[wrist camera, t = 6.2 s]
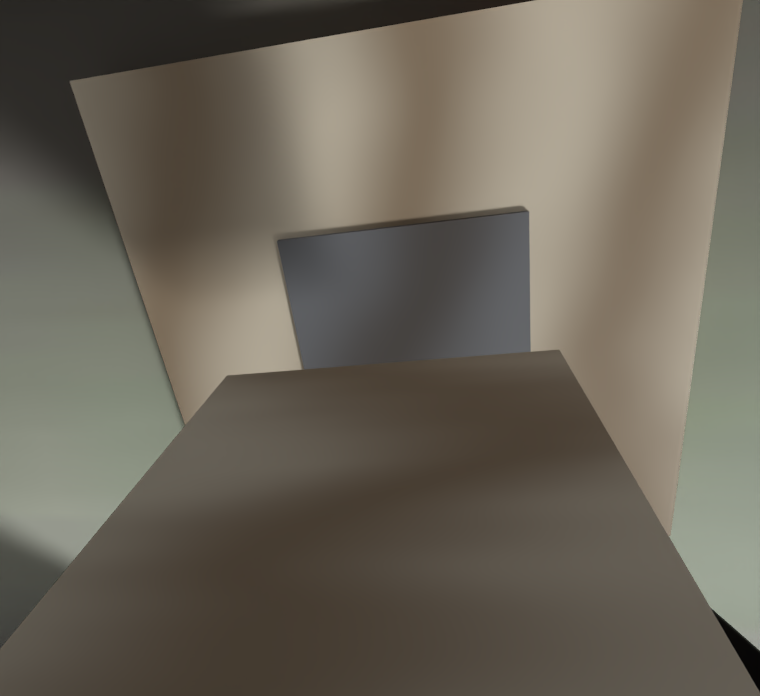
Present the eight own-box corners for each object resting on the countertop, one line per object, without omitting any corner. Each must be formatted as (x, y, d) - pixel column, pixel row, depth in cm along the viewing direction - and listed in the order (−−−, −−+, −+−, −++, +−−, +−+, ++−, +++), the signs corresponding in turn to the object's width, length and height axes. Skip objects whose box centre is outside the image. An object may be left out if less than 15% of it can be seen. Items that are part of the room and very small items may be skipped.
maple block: (559, 350, 7) (802, 765, 2) (555, 598, 9) (684, 1087, 4) (226, 374, 8) (-73, 737, 3) (291, 601, 10) (165, 1027, 5)
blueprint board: (717, -21, 11) (753, -39, 10) (655, 510, 18) (672, 540, 16) (98, 85, 14) (63, 80, 12) (237, 525, 20) (224, 552, 19)
